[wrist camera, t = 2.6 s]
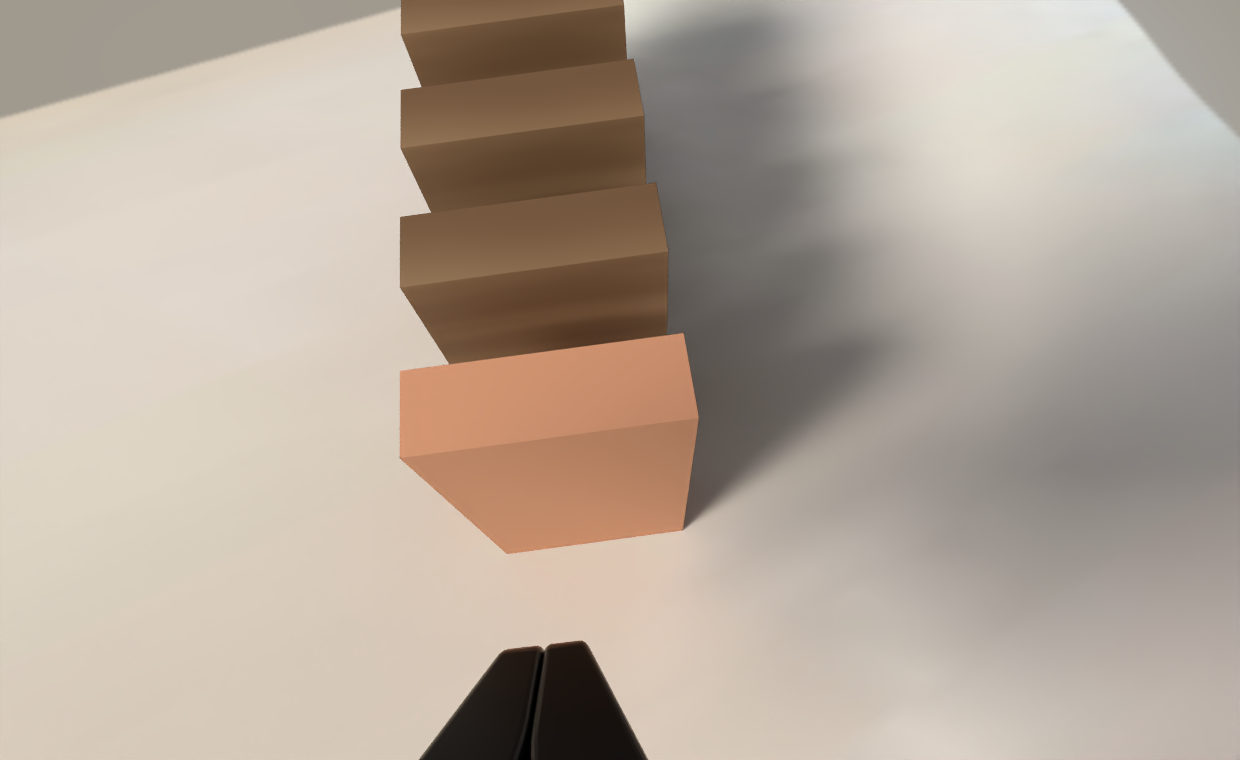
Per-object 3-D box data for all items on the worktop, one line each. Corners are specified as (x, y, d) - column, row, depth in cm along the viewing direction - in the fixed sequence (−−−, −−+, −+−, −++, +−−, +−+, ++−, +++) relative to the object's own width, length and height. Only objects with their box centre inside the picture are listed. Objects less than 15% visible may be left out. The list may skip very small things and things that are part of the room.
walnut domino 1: (636, 240, 24) (624, 4, 16) (489, 259, 24) (401, 34, 16) (630, 201, 25) (615, -44, 16) (487, 221, 25) (401, -16, 16)
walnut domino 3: (665, 420, 21) (668, 251, 13) (500, 443, 21) (400, 287, 13) (657, 373, 22) (656, 182, 14) (497, 394, 22) (400, 216, 14)
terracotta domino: (682, 529, 20) (698, 417, 12) (507, 553, 20) (400, 458, 12) (673, 475, 21) (683, 333, 12) (503, 498, 21) (400, 371, 12)
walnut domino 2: (650, 325, 23) (644, 115, 14) (495, 345, 23) (400, 148, 14) (643, 282, 23) (633, 58, 15) (492, 303, 23) (400, 89, 15)
